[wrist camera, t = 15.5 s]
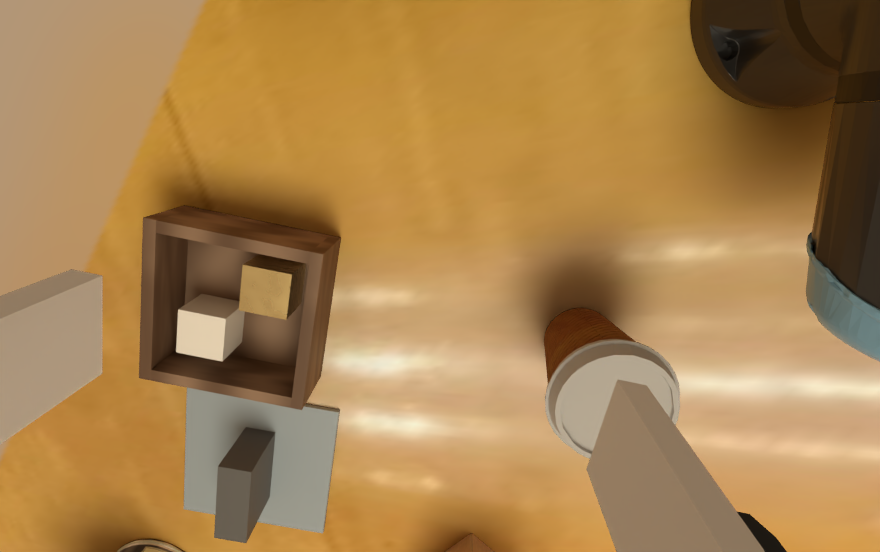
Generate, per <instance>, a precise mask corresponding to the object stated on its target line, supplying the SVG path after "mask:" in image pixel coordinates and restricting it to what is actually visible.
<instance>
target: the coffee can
mask: <svg viewBox="0 0 880 552" xmlns="http://www.w3.org/2000/svg"><path fill="white" fill-rule="evenodd" d="M117 552H183V551H182V550H180V549H178V548H177V547H175V546H173V545H171V544H168V543H166V542H162V541H157V540H137V541H133V542H130V543H128V544H126V545H124V546H123V547H121V548H120V549H119V550H118V551H117Z"/></svg>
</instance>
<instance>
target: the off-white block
mask: <svg viewBox="0 0 880 552" xmlns="http://www.w3.org/2000/svg"><path fill="white" fill-rule="evenodd" d="M244 314H245V311H240V310H239V301H236V300H231V299H226V298H221V297H216V296H211V295H206V294H201V295H199V296H198V297H196V298H195V299H193V300H192V301H190V302H189V303H187V304H186V305H184V306H182V307H181V308H179V309H178V322H177V343H176V352H177V353H182V354H187V355H192V356H197V357H202V358H207V359H212V360H217V361H222V362H223V361H224V360H225V359H226V358H227V357H228V356H229V355H230V354H231V353H232V352H233V351H234V350H235V349H236V348H237V347H238V346H239V345H240V344H241V343H242V336H243V325H244Z"/></svg>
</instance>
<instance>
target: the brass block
mask: <svg viewBox="0 0 880 552" xmlns="http://www.w3.org/2000/svg"><path fill="white" fill-rule="evenodd" d="M305 269H306V263H301V262H296V261H291V260H286V259H281V258H276V257H272V256H267V255H262V254H258V255H257V256H255V257H254V258H252V259H251V260H249V261H248V262H246V263H244V264H243V267H242V278H241V289H240V301H239V310H240V311H245V312H250V313H255V314H259V315H264V316H269V317H274V318H279V319H284V320H287V319H288V318H289V317H290V315H291V314H292V313H293V312H294V311H295V310H296V309H297V308H298V306H299V305H300V304H301V301H302V293H303V285H304V277H305Z"/></svg>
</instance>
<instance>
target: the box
mask: <svg viewBox="0 0 880 552" xmlns="http://www.w3.org/2000/svg"><path fill="white" fill-rule="evenodd" d="M340 241H341V238H340V237H336V236H331V235H326V234H321V233H316V232H311V231H306V230H302V229H297V228H292V227H287V226H282V225H277V224H272V223H267V222H263V221H258V220H253V219H248V218H243V217H238V216H233V215H228V214H224V213H219V212H214V211H209V210H204V209H199V208H194V207H190V206H185V205H184V206H181V207H178V208H174V209H171V210H167V211H164V212H161V213H157V214H154V215H150V216H147V217H144V218H143V242H142V282H141V322H140V361H139V378H142V379H147V380H152V381H157V382H162V383H167V384H172V385H177V386H182V387H187V388H192V389H197V390H202V391H207V392H212V393H217V394H223V395H228V396H233V397H238V398H243V399H248V400H253V401H258V402H263V403H268V404H273V405H278V406H283V407H288V408H293V409H298V410H302V409H303V407H304V406H305V404H306V402H307V400H308V398H309V397H310V395H311V393H312V391H313V389H314V388H315V386H316V384H317V382H318V380H319V379H320V377H321V371H322V364H323V357H324V351H325V344H326V337H327V330H328V323H329V316H330V309H331V303H332V296H333V289H334V282H335V275H336V268H337V262H338V255H339V248H340ZM258 254H262V255H267V256H272V257H276V258H281V259H286V260H291V261H296V262H301V263H306V269H305V277H304V285H303V293H302V301H301V304H300V305H299V306H298V308H297V309H296V310H295V311H294V312H293V313H292V314H291V315H290V317H289V318H288V319H287V320H284V319H279V318H274V317H269V316H264V315H259V314H255V313H250V312H245V314H244V325H243V336H242V343H241V344H240V345H239V346H238V347H237V348H236V349H235V350H234V351H233V352H232V353H231V354H230V355H229V356H228V357H227V358H226V359H225V360H224V361H223V362H222V361H217V360H212V359H207V358H202V357H197V356H192V355H187V354H182V353H177V352H176V343H177V322H178V309H179V308H181V307H182V306H184V305H186V304H187V303H189V302H190V301H192V300H193V299H195V298H196V297H198V296H199V295H201V294H206V295H211V296H216V297H221V298H226V299H231V300H236V301H240V289H241V278H242V267H243V264H244V263H246V262H248V261H249V260H251V259H252V258H254V257H255V256H257V255H258Z"/></svg>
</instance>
